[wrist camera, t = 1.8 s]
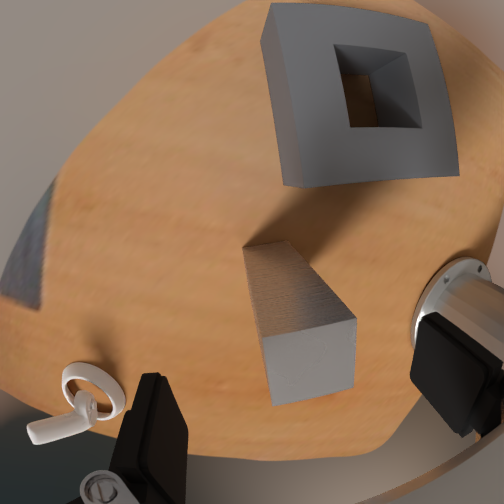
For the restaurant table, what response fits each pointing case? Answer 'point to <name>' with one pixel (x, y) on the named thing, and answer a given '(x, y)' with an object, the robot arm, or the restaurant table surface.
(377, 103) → the well block
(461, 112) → the restaurant table surface
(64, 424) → the hook
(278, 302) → the steel post
